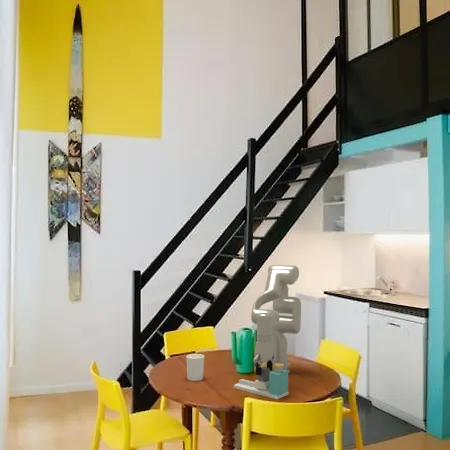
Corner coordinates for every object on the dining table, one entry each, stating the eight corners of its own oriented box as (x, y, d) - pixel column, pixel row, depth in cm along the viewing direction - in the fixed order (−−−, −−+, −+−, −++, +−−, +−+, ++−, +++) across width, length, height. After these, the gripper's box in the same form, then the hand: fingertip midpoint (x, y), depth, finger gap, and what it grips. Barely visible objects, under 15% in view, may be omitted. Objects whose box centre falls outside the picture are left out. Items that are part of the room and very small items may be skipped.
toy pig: (253, 378, 269) (253, 358, 269) (275, 378, 269) (275, 358, 269) (255, 384, 259) (255, 363, 259) (278, 384, 259) (278, 363, 259)
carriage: (262, 384, 251) (262, 365, 252) (272, 387, 248) (272, 367, 248) (254, 388, 246) (254, 368, 246) (264, 390, 242) (265, 370, 242)
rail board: (245, 383, 260) (245, 361, 260) (288, 394, 244) (288, 370, 244) (233, 388, 252) (233, 365, 252) (277, 399, 236) (277, 375, 236)
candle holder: (192, 374, 274) (193, 352, 274) (207, 377, 269) (208, 355, 269) (182, 379, 265) (182, 356, 265) (197, 382, 260) (197, 359, 260)
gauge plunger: (277, 376, 245) (277, 362, 245) (285, 377, 242) (285, 364, 242) (272, 378, 241) (272, 364, 241) (280, 380, 238) (280, 365, 238)
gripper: (267, 333, 256) (267, 367, 257) (247, 340, 243) (247, 375, 243) (280, 336, 252) (279, 370, 252) (260, 342, 238) (260, 378, 238)
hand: (264, 372), depth 247 cm, fingers open, 9 cm apart
